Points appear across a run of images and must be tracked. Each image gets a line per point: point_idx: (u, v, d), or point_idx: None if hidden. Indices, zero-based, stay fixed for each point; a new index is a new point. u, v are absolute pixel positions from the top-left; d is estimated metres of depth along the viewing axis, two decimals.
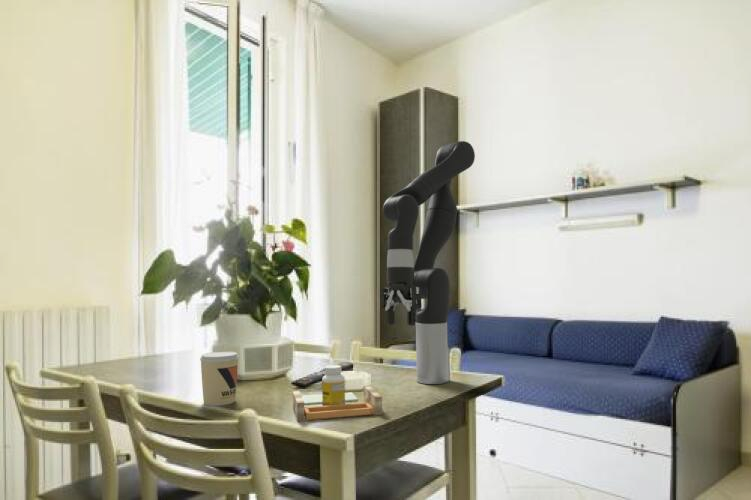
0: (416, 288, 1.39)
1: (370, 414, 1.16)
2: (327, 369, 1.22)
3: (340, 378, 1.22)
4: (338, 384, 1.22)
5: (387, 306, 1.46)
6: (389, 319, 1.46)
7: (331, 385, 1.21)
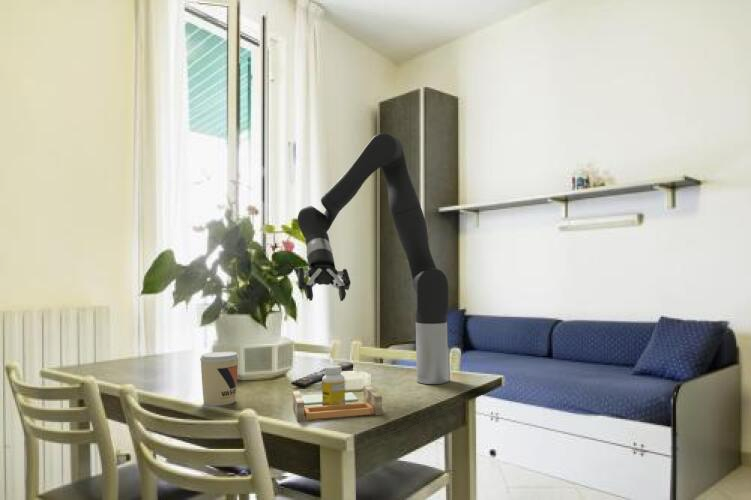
0: None
1: (370, 414, 1.16)
2: (327, 369, 1.22)
3: (340, 378, 1.22)
4: (338, 384, 1.22)
5: None
6: (340, 296, 1.42)
7: (331, 385, 1.21)
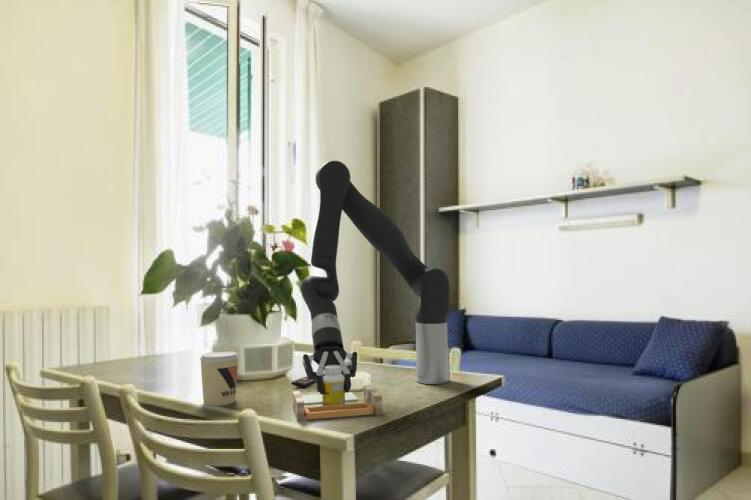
0: None
1: (370, 414, 1.16)
2: (327, 369, 1.22)
3: (340, 378, 1.22)
4: (338, 384, 1.22)
5: None
6: None
7: (331, 385, 1.21)
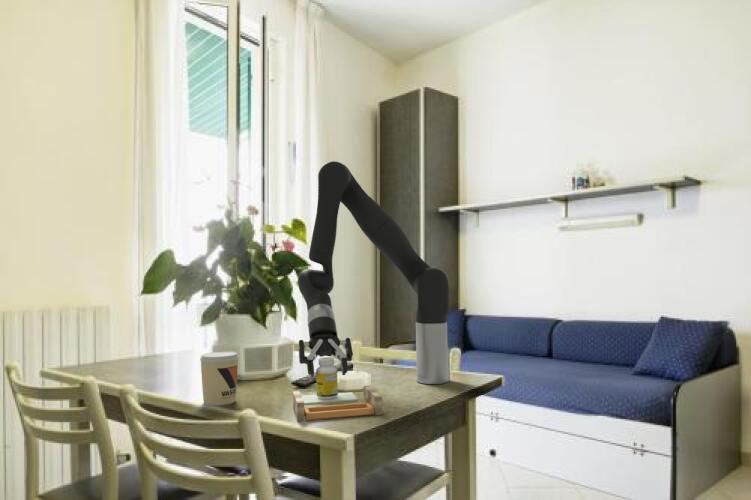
0: None
1: (370, 414, 1.16)
2: (321, 361, 1.31)
3: (333, 369, 1.31)
4: (331, 375, 1.30)
5: None
6: None
7: (324, 375, 1.30)
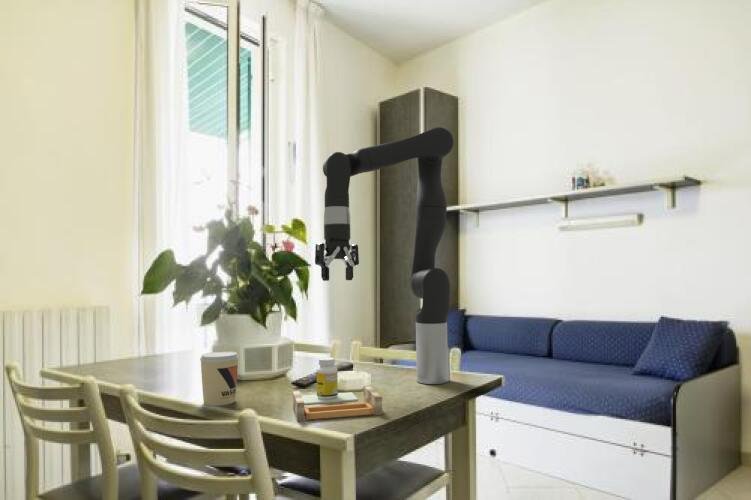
0: (317, 245, 1.43)
1: (370, 414, 1.16)
2: (321, 361, 1.31)
3: (333, 369, 1.31)
4: (332, 375, 1.30)
5: None
6: (346, 275, 1.50)
7: (325, 375, 1.30)
